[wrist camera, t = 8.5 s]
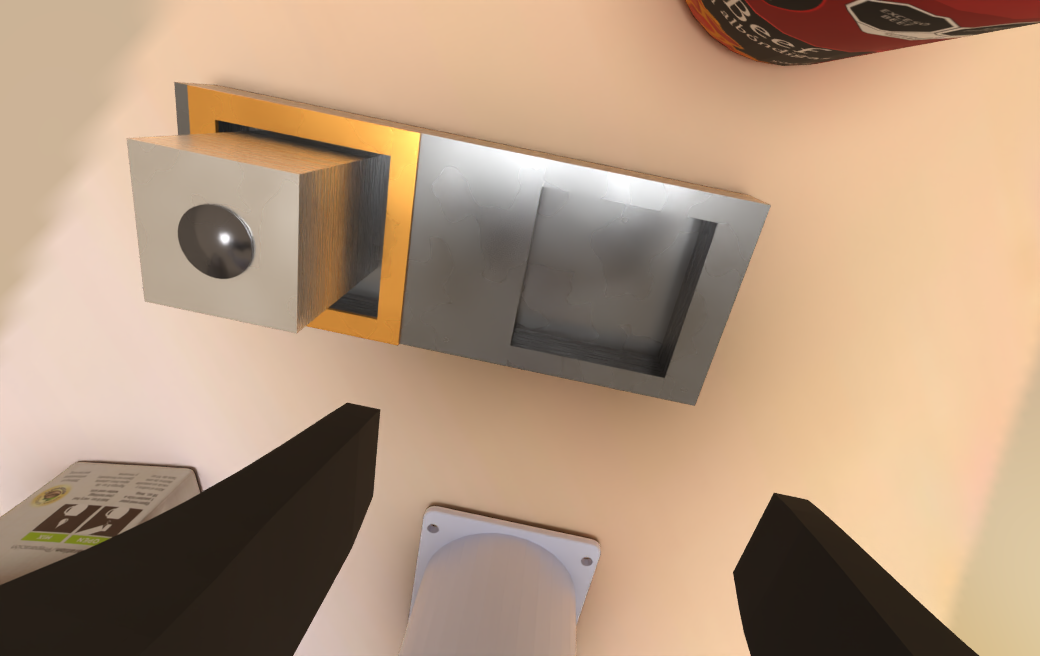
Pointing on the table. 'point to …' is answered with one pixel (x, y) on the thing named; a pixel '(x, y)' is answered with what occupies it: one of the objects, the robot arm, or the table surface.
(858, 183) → the table surface
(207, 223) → the silver square slider
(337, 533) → the robot arm
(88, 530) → the coffee box
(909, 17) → the canned food
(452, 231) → the rail
